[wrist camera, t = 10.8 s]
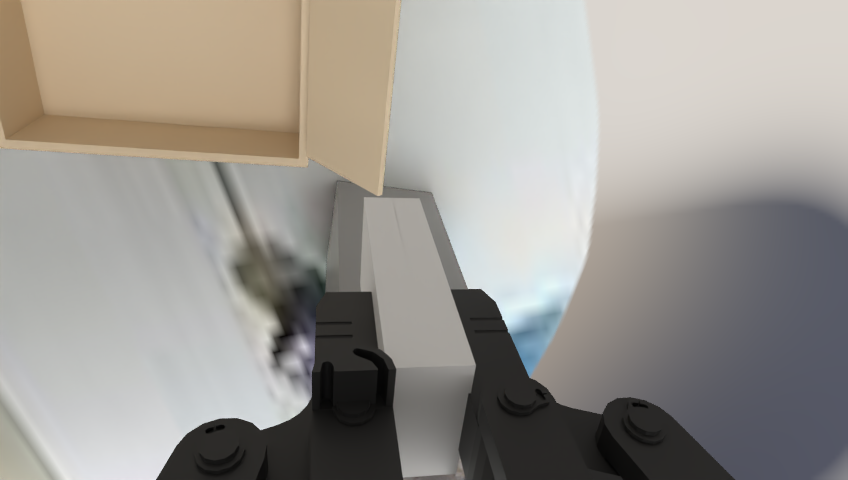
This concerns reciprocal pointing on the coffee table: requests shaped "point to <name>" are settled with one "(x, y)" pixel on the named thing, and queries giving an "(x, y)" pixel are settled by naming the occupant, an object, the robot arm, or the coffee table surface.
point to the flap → (351, 86)
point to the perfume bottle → (348, 237)
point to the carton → (157, 78)
